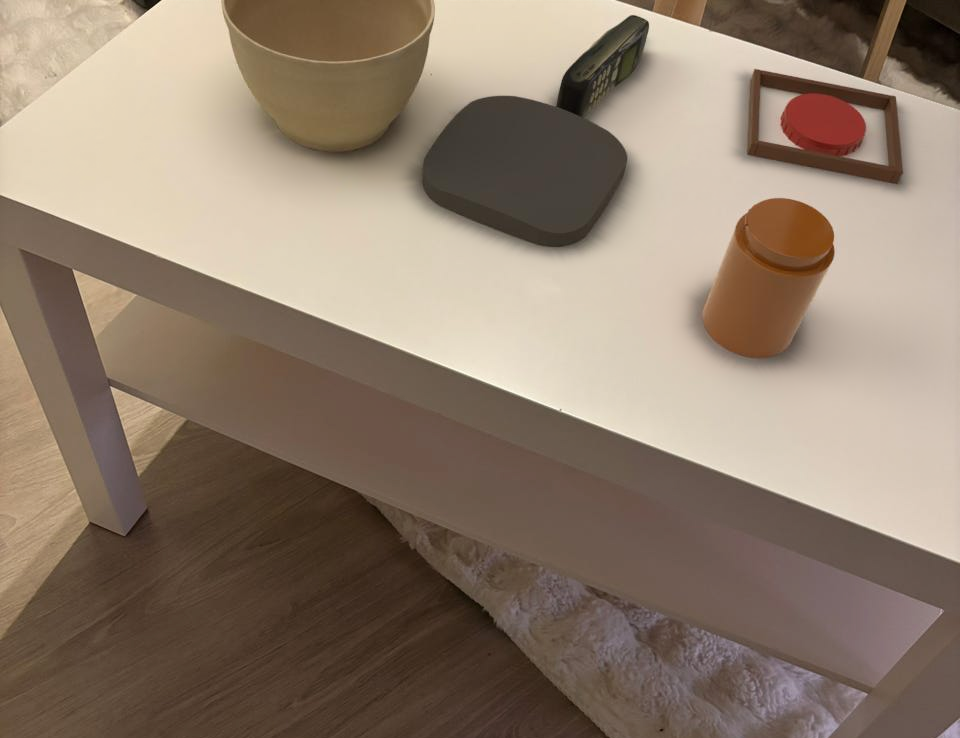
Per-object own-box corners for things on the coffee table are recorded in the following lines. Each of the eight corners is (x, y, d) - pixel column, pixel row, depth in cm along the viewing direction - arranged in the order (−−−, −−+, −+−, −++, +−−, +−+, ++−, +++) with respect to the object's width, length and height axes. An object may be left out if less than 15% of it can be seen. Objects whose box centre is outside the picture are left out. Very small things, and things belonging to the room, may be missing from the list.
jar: (789, 308, 80) (840, 204, 71) (789, 374, 76) (843, 272, 67) (701, 290, 80) (742, 184, 71) (696, 355, 76) (738, 251, 68)
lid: (778, 150, 90) (784, 135, 89) (779, 100, 94) (785, 86, 93) (861, 166, 90) (868, 152, 88) (858, 116, 94) (865, 102, 93)
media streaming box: (570, 268, 80) (577, 239, 77) (404, 202, 82) (406, 171, 80) (634, 165, 88) (642, 135, 85) (481, 107, 90) (484, 77, 87)
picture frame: (886, 115, 95) (896, 95, 94) (892, 192, 89) (903, 172, 87) (747, 88, 95) (754, 68, 94) (743, 163, 89) (751, 142, 87)
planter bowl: (448, 90, 91) (458, -31, 82) (396, 205, 82) (400, 83, 73) (276, 48, 92) (266, -76, 83) (205, 157, 83) (186, 31, 74)
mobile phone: (586, 88, 85) (665, 6, 92) (555, 74, 86) (635, -6, 93) (576, 138, 89) (652, 56, 96) (547, 125, 90) (624, 44, 97)
